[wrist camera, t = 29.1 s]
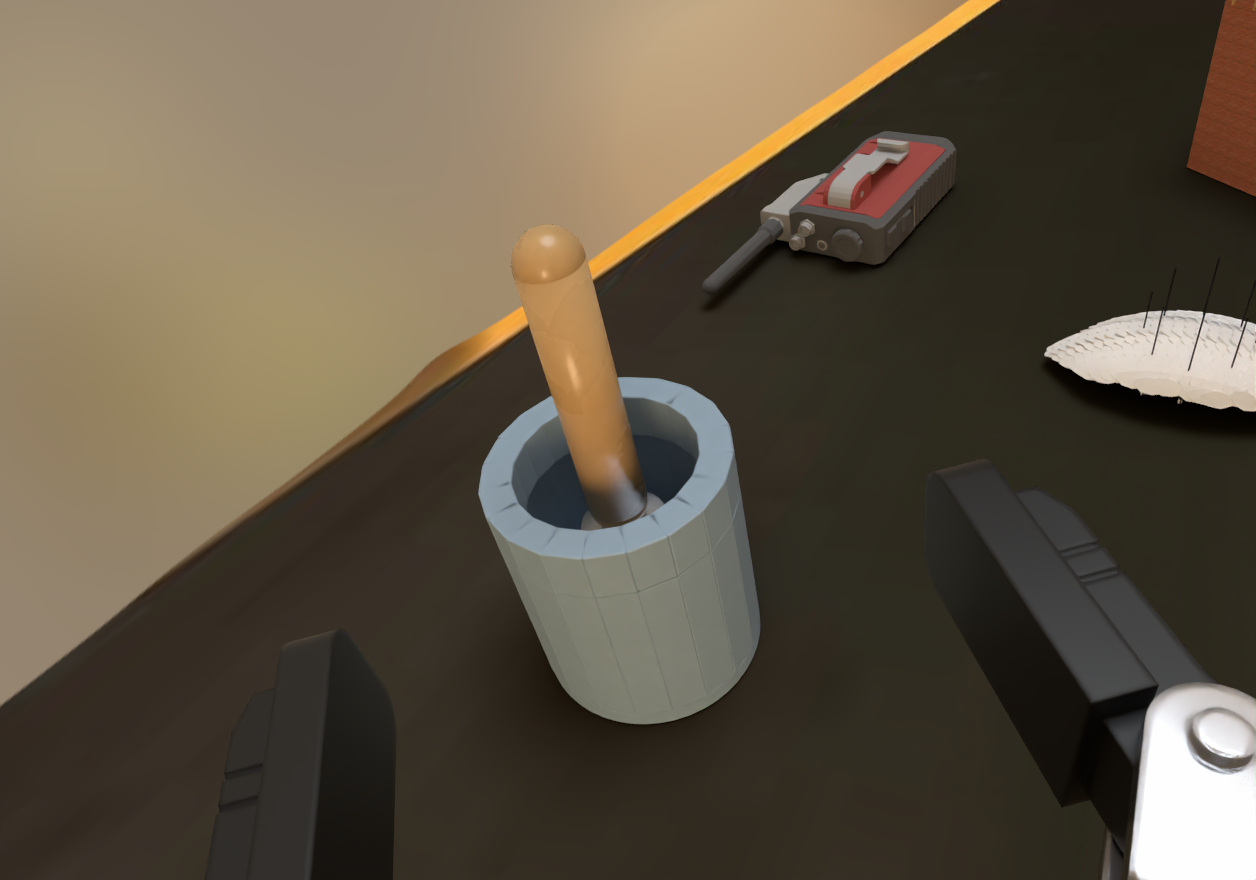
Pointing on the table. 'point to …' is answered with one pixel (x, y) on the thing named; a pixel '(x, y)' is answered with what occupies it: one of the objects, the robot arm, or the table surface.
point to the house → (1230, 103)
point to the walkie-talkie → (855, 203)
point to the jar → (631, 558)
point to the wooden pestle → (581, 374)
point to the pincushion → (1169, 355)
